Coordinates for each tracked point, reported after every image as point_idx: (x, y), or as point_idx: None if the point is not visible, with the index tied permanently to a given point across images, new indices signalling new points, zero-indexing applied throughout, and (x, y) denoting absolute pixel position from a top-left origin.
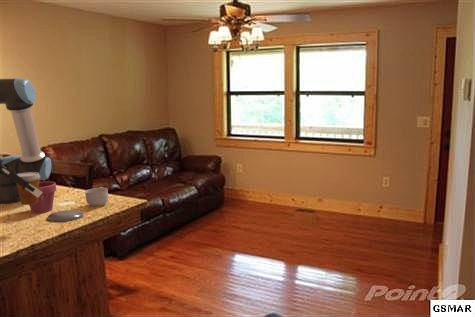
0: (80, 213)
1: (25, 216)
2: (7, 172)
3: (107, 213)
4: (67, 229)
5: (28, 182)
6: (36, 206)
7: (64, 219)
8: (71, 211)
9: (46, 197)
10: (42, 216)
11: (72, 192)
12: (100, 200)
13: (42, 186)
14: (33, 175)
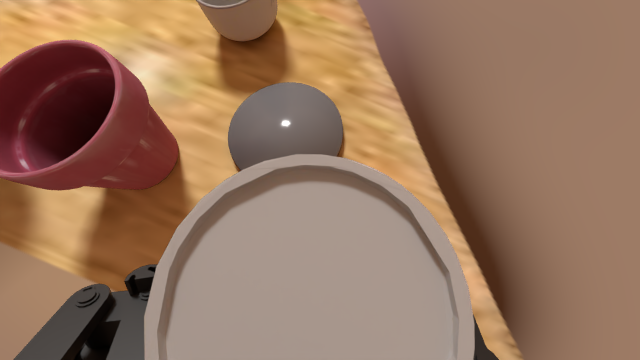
0: (310, 95)
1: (162, 226)
2: None
3: (354, 41)
4: (427, 188)
5: (486, 357)
6: (148, 175)
7: (335, 156)
8: (264, 104)
9: (151, 128)
10: (215, 185)
11: (47, 16)
12: (275, 7)
13: (28, 88)
14: (460, 269)
